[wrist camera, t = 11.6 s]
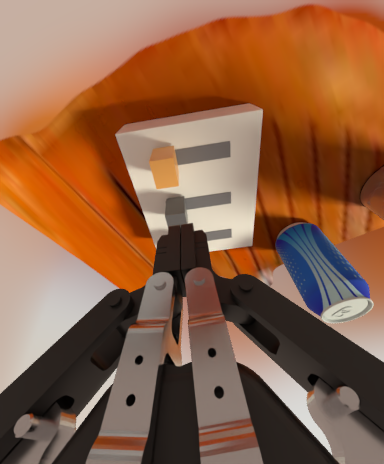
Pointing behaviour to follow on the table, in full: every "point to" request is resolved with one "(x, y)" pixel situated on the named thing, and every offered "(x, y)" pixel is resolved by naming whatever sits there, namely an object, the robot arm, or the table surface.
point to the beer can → (323, 274)
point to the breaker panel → (201, 170)
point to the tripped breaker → (164, 167)
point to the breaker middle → (176, 211)
